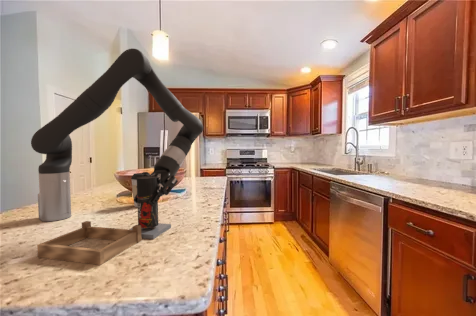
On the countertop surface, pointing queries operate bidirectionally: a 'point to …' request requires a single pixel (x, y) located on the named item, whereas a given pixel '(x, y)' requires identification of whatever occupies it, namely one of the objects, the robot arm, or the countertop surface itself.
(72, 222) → the countertop surface
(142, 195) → the deodorant
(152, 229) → the slate coaster
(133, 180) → the coffee cup
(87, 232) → the wood frame
